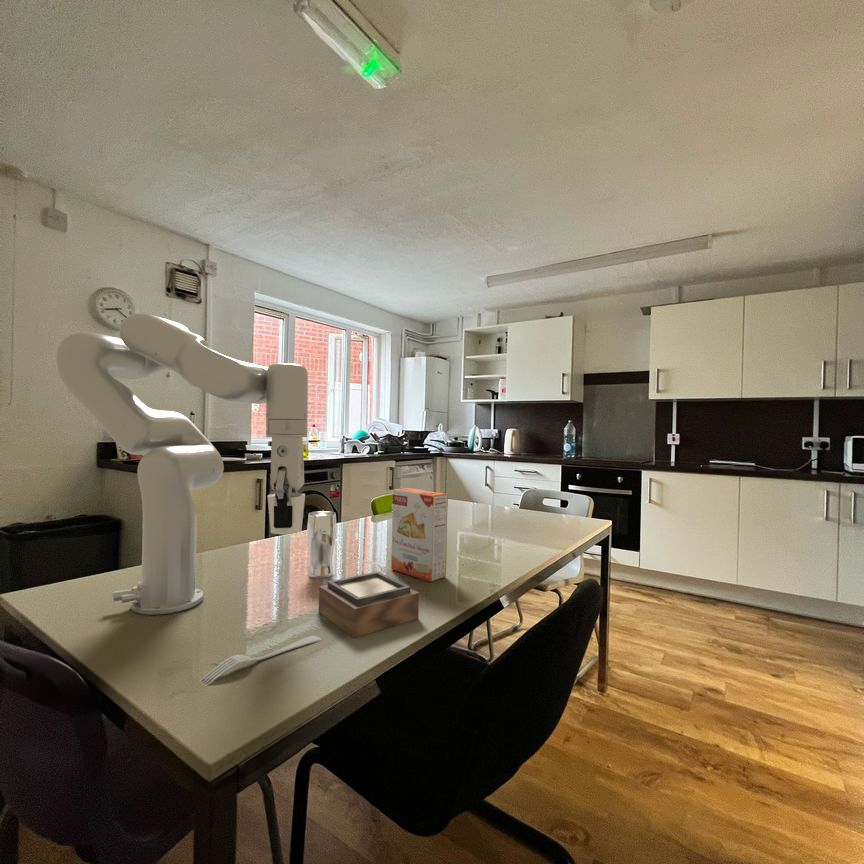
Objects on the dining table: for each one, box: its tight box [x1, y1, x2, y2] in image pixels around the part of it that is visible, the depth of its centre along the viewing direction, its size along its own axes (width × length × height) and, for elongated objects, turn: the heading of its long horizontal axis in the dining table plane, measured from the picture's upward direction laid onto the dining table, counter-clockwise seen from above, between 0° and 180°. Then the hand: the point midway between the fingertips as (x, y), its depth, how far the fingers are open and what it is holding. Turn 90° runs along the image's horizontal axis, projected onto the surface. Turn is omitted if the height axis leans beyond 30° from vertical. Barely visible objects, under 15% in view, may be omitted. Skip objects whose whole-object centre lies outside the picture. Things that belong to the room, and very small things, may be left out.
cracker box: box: [390, 487, 449, 583], centre depth 117 cm, size 14×6×21 cm, turn 48°
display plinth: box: [318, 571, 420, 638], centre depth 91 cm, size 14×14×6 cm
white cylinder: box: [267, 492, 306, 535], centre depth 89 cm, size 7×7×7 cm
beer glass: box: [306, 510, 337, 579], centre depth 115 cm, size 7×7×15 cm
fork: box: [199, 635, 323, 687], centre depth 73 cm, size 3×21×3 cm, turn 140°
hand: (286, 522), depth 89 cm, fingers closed on white cylinder, 6 cm apart
